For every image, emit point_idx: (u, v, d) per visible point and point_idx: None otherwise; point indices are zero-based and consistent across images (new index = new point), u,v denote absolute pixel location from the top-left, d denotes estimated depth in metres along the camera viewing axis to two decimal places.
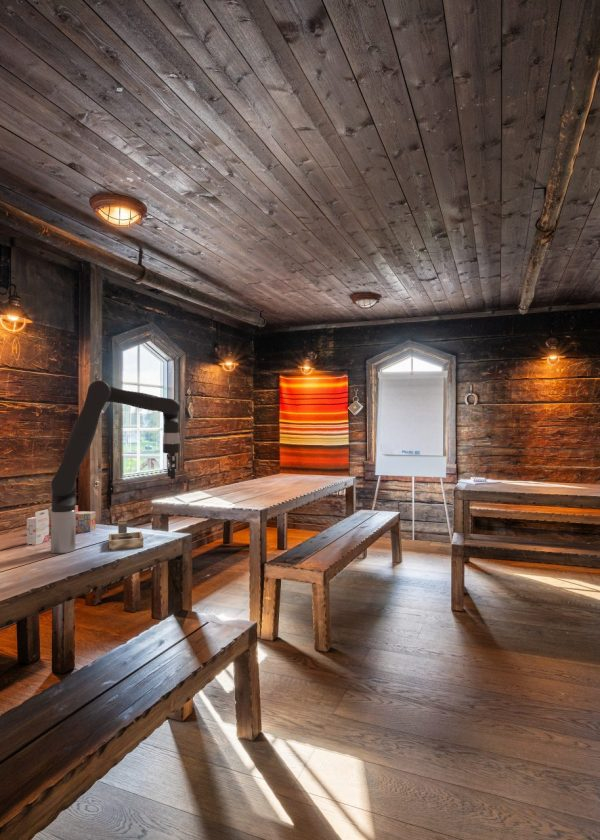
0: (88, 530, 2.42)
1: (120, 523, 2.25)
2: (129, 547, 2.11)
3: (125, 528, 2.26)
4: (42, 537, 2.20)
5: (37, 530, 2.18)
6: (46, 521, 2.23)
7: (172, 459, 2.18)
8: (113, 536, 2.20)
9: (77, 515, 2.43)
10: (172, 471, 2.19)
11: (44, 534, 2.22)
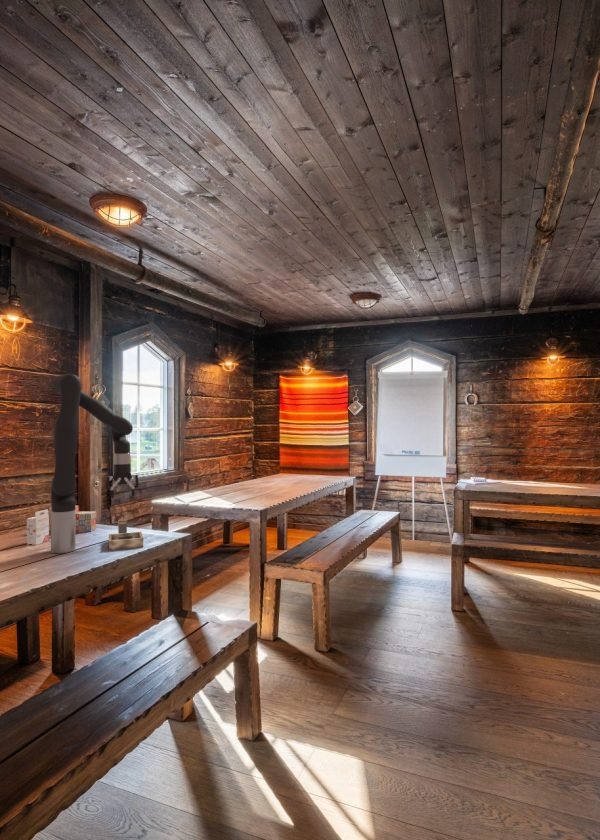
0: (89, 530, 2.42)
1: (120, 523, 2.25)
2: (129, 547, 2.11)
3: (125, 528, 2.26)
4: (42, 537, 2.20)
5: (37, 530, 2.18)
6: (46, 521, 2.23)
7: (137, 477, 2.29)
8: (113, 536, 2.20)
9: (78, 515, 2.43)
10: (134, 489, 2.29)
11: (44, 534, 2.22)
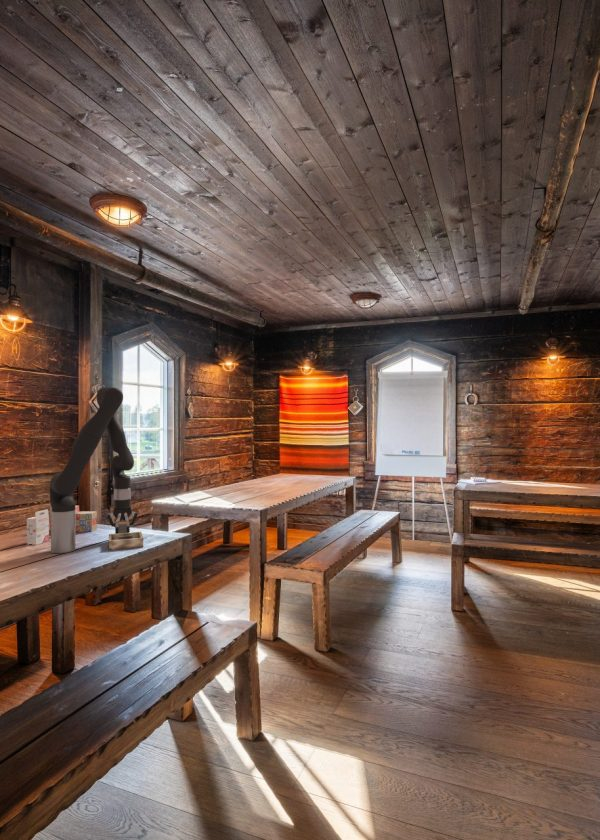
0: (89, 530, 2.42)
1: (120, 523, 2.25)
2: (129, 547, 2.11)
3: (125, 528, 2.26)
4: (42, 537, 2.20)
5: (37, 530, 2.18)
6: (46, 521, 2.23)
7: None
8: (113, 536, 2.20)
9: (78, 515, 2.43)
10: (129, 527, 2.28)
11: (44, 534, 2.22)
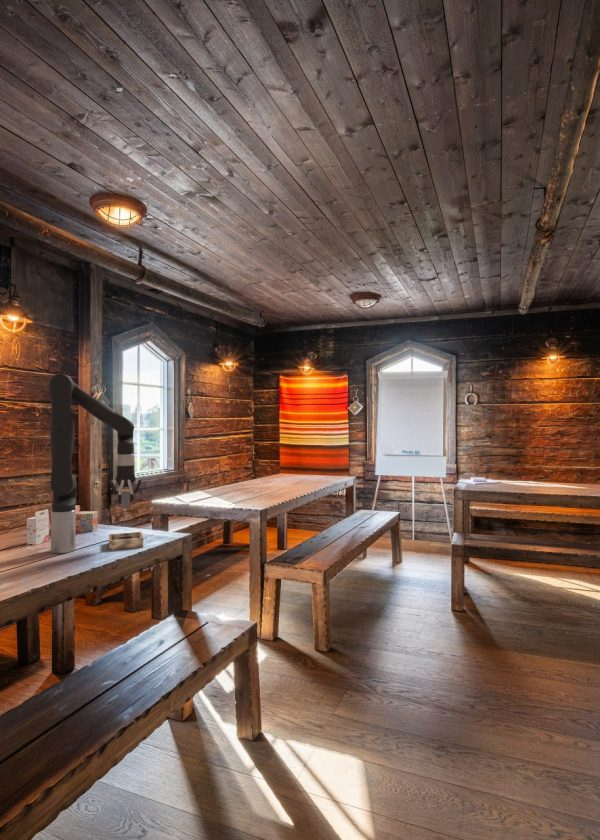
0: (90, 530, 2.43)
1: (123, 490, 2.14)
2: (129, 547, 2.11)
3: (128, 496, 2.15)
4: (42, 537, 2.20)
5: (37, 530, 2.18)
6: (46, 521, 2.23)
7: None
8: (113, 536, 2.20)
9: (79, 515, 2.43)
10: None
11: (44, 534, 2.22)
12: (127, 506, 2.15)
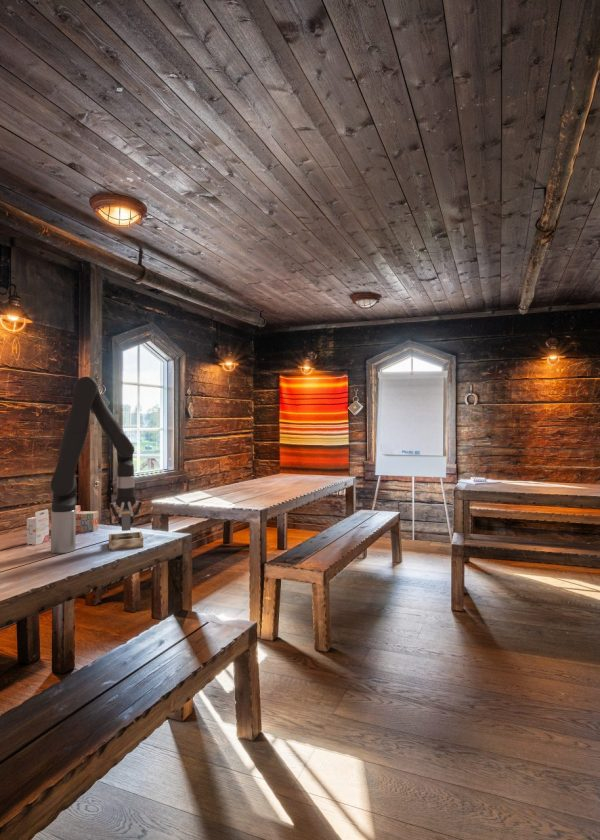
0: (91, 530, 2.43)
1: (123, 512, 2.14)
2: (129, 547, 2.11)
3: (129, 518, 2.15)
4: (42, 537, 2.20)
5: (37, 530, 2.18)
6: (46, 521, 2.23)
7: None
8: (113, 536, 2.20)
9: (80, 515, 2.43)
10: None
11: (44, 534, 2.22)
12: (127, 528, 2.15)
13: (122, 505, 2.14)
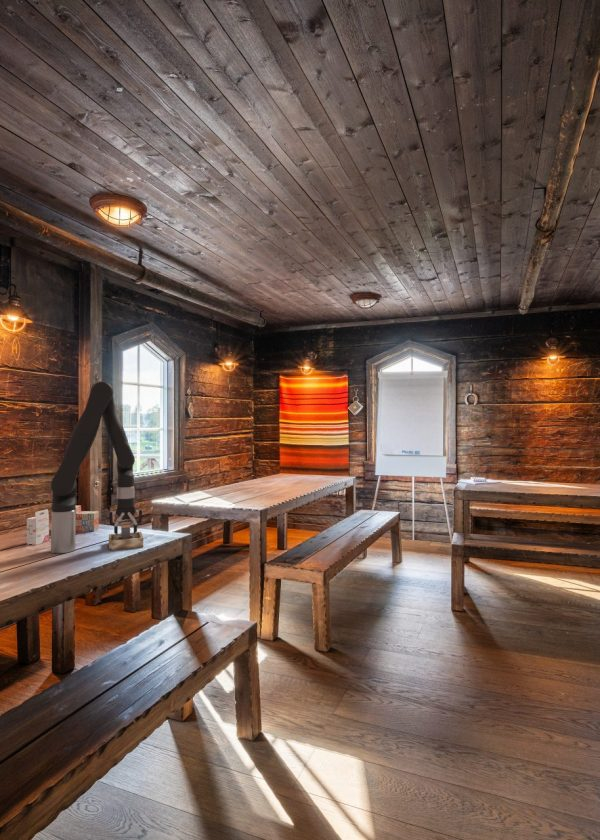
0: (92, 530, 2.43)
1: (123, 526, 2.14)
2: (129, 547, 2.11)
3: (128, 532, 2.15)
4: (42, 537, 2.20)
5: (37, 530, 2.18)
6: (46, 521, 2.23)
7: (141, 513, 2.19)
8: (113, 536, 2.20)
9: (80, 515, 2.43)
10: None
11: (44, 534, 2.22)
12: None
13: (121, 515, 2.14)
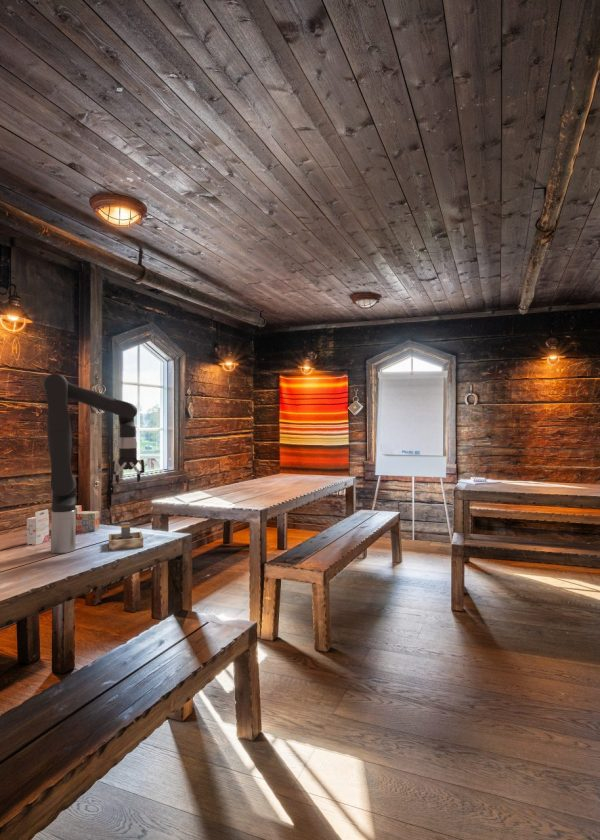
0: (92, 530, 2.43)
1: (123, 526, 2.14)
2: (129, 547, 2.11)
3: (128, 532, 2.15)
4: (42, 537, 2.20)
5: (37, 530, 2.18)
6: (46, 521, 2.23)
7: (143, 462, 2.23)
8: (113, 536, 2.20)
9: (81, 515, 2.43)
10: None
11: (44, 534, 2.22)
12: None
13: (123, 465, 2.19)
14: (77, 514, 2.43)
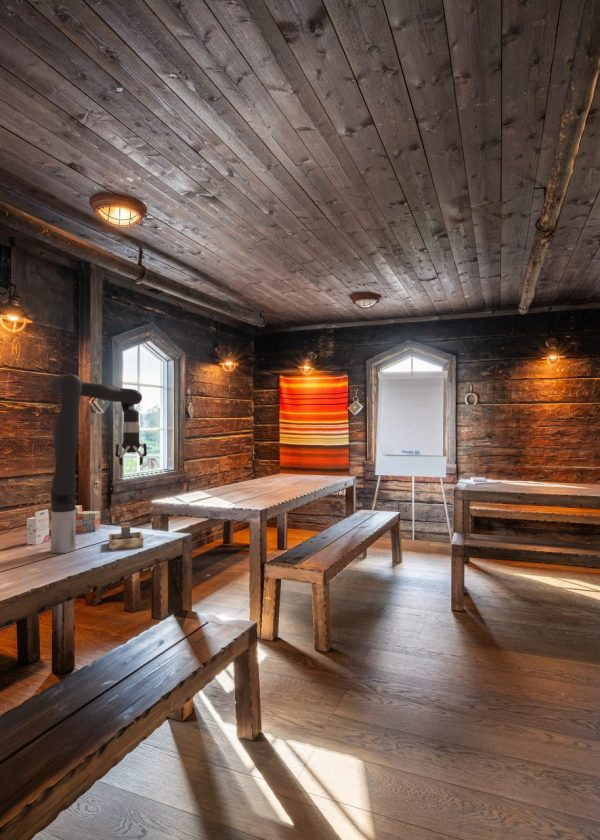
0: (93, 530, 2.43)
1: (123, 526, 2.14)
2: (129, 547, 2.11)
3: (128, 532, 2.15)
4: (42, 537, 2.20)
5: (37, 530, 2.18)
6: (46, 521, 2.23)
7: None
8: (113, 536, 2.20)
9: (82, 515, 2.43)
10: (142, 458, 2.34)
11: (44, 534, 2.22)
12: None
13: (127, 448, 2.30)
14: (78, 514, 2.43)
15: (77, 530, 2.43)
